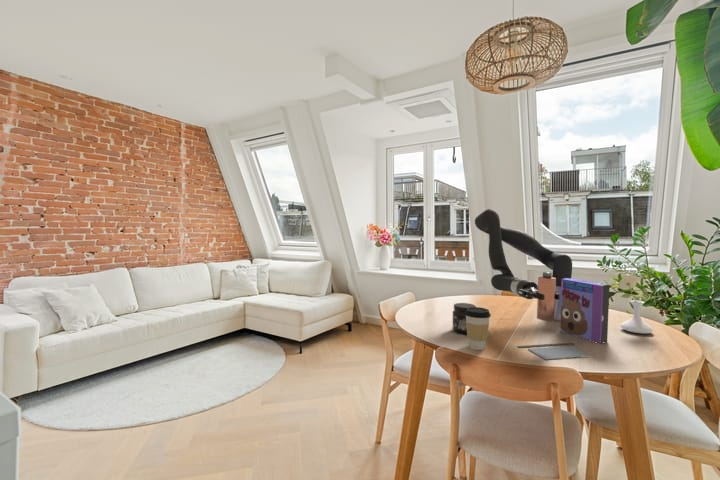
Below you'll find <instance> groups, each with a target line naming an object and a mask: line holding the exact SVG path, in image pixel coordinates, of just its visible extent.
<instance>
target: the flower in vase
mask: <svg viewBox="0 0 720 480" xmlns="http://www.w3.org/2000/svg"><path fill="white" fill-rule="evenodd" d="M637 283H638V279H637V278H636V277H634V276H631V275H630V276H625V277H623V278H622V279H620V280H619V282H618V283H617V286H618V289H620V290H622V291H628V290H630V293H623V294H622V295H621V296H620V297H621V298H624V299H629V298H630V297H633V299H632V300H630V302H631V304H632V307H633V316H632V317H631V318H629V319H627V320H626V321H623V322H622V323H621V324H620V328H621V329H623V330H625V331H627V332H630V333H635V334H641V335H643V334H644V335H645V334H651V333H652V332H653V331H654V330H653V327H651V326H650V325H649V324H648V323H647V322H645V321H644V320H643V319H642V317H641V309H642V307H643V305H644V304H645V301H642V300H638V299H642V298H643V297H644V292H643V293H641V294H640V293H639V294H636V295H635V296H634V295H633V292H632V289H633V288H635V286H637ZM636 299H637V300H636Z"/></svg>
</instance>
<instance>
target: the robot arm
mask: <svg viewBox="0 0 720 480" xmlns="http://www.w3.org/2000/svg"><path fill="white" fill-rule="evenodd" d="M474 225H475V227H476V228H477V229H478V230H479V231H481V232H483V233H485V234H487V235H488V236H489V238H488V257H489V261H490V266H491V269H492V270H493V271H498V272H500V273H499V274H495V275H493V276H492V277H491V278H490V279H491V280H490V283H491V286H492V287H493V288H494V289H495V290H498V291H501V292H504V291H505V292H509V293H512V294H515V295H516V296H518V297H521V298H523V299H526V300H534V299H536V300H537V299H539V300H543V297H544V295H543V294H540V293H538V283H536V282H534V281H531V280H528V279H523V278H519V277H515V275H514V274H513V272H512V270H511V269H510V267H509V265H508V263H507V259H506V256H505V255H506V254H505V253H504V248H503V242H504V243H505V244H507V245H509V246H510V247H512V248H514V249H516V250H517V251H519V252H521V253H523V254H524V255H527V256H529V257H531V258H532V259H533V258H534V259H536V260H537V261H538V262H540V263H541V264H543V265H544V266H546V267H547V268H548V269H549V270H551V271H552V277H553V278H556V289H555V312H554V320H553V321H558V322H560V316H561V284H562V279H565V278H570V279H572V276H573V272H572V271H573V261H572V258H571V257H570V255H568V254H565V253H559V252H556V251H553V250H552V249H549V248H547V247H545V246H543V245H542V244H540V242H539V241H538V240H537V239H536V238H534V237H533V236H532V235H530V234H529V233H526V232H525V231H523V230H520V229H516V228H510V227H505V226H503V225H501V219H500V216H499V213H498V212H497V211H496V210H494V209H493V208H488V209H485V210H483V212H481V213H480V214H479V215H477V216H476V217H475V219H474Z"/></svg>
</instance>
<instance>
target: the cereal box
mask: <svg viewBox="0 0 720 480" xmlns="http://www.w3.org/2000/svg"><path fill="white" fill-rule="evenodd" d="M609 302H610V284H605V283H599V282H594V281H587V280H581V279H575V278H571V279H570V278H565V279H562V284H561V316H560V321H559V324H560V325H559V332H561V333H563V334H567V335H570V336H572V337H573V336H574V337H576V336H577V338H579V337H580V338H581V339H582V338H584V339H583V340H586V339H587V340H586V341H589V340H591V341H590V342H592V341H594V342H593V343H595V342H597V343H596V344H598V343H602V344H604V343H603V342H606V343H608V331H609V309H610V308H609V305H610V304H609ZM580 338H579V339H580Z"/></svg>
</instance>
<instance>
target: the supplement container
mask: <svg viewBox="0 0 720 480" xmlns="http://www.w3.org/2000/svg"><path fill="white" fill-rule="evenodd" d="M469 307H477V306H476V305H475V304H472V303H469V302H457V303H456V302H455V304H453V311H452V331H453V332H454V333H455V334H458V335H464V336H465V335H466V336H467V328H466V315H465V314H464V313H465V311H466V309H467V308H469Z"/></svg>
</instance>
